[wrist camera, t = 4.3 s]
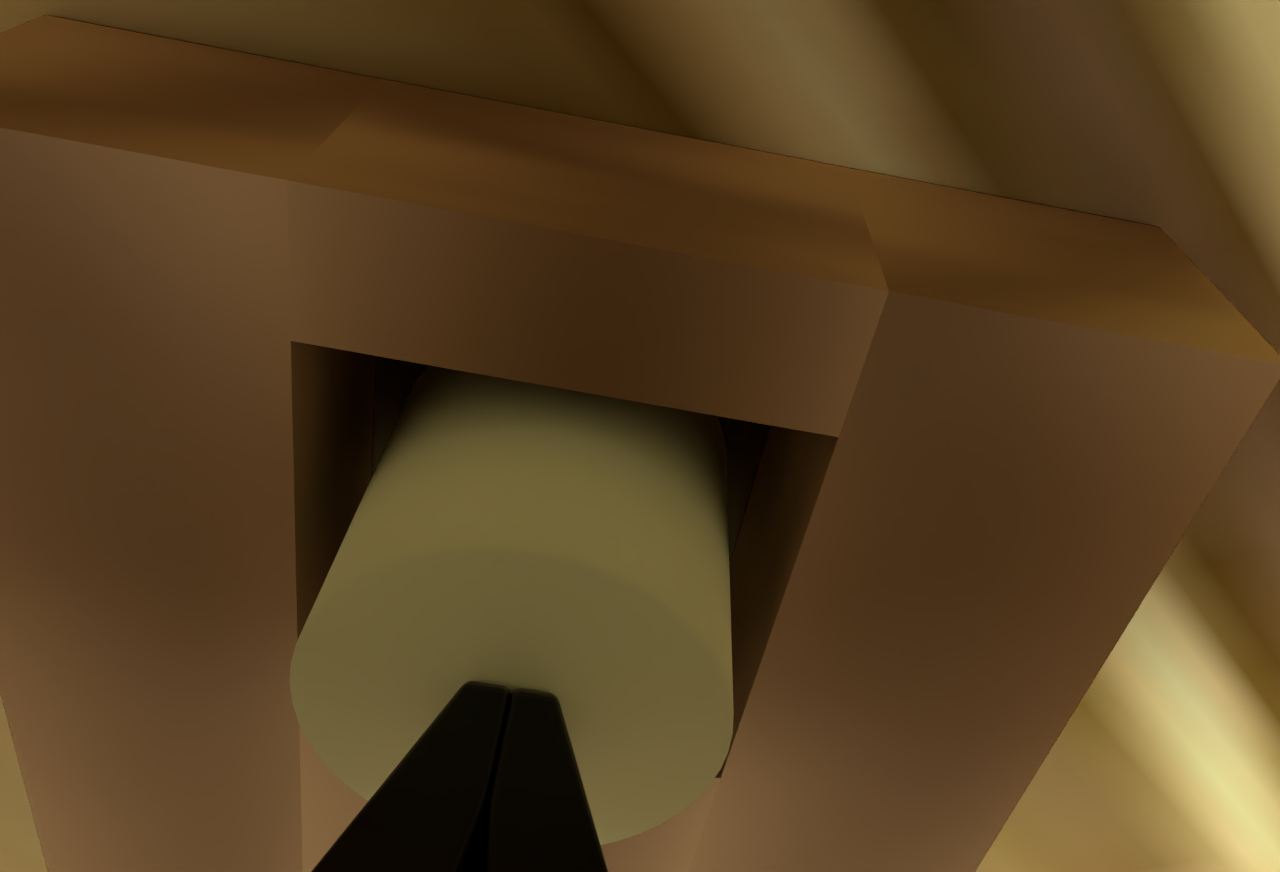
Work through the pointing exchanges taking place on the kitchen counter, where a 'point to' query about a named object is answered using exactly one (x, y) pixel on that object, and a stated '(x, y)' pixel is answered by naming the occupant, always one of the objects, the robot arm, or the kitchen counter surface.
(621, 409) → the green button
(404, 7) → the kitchen counter surface
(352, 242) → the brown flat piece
